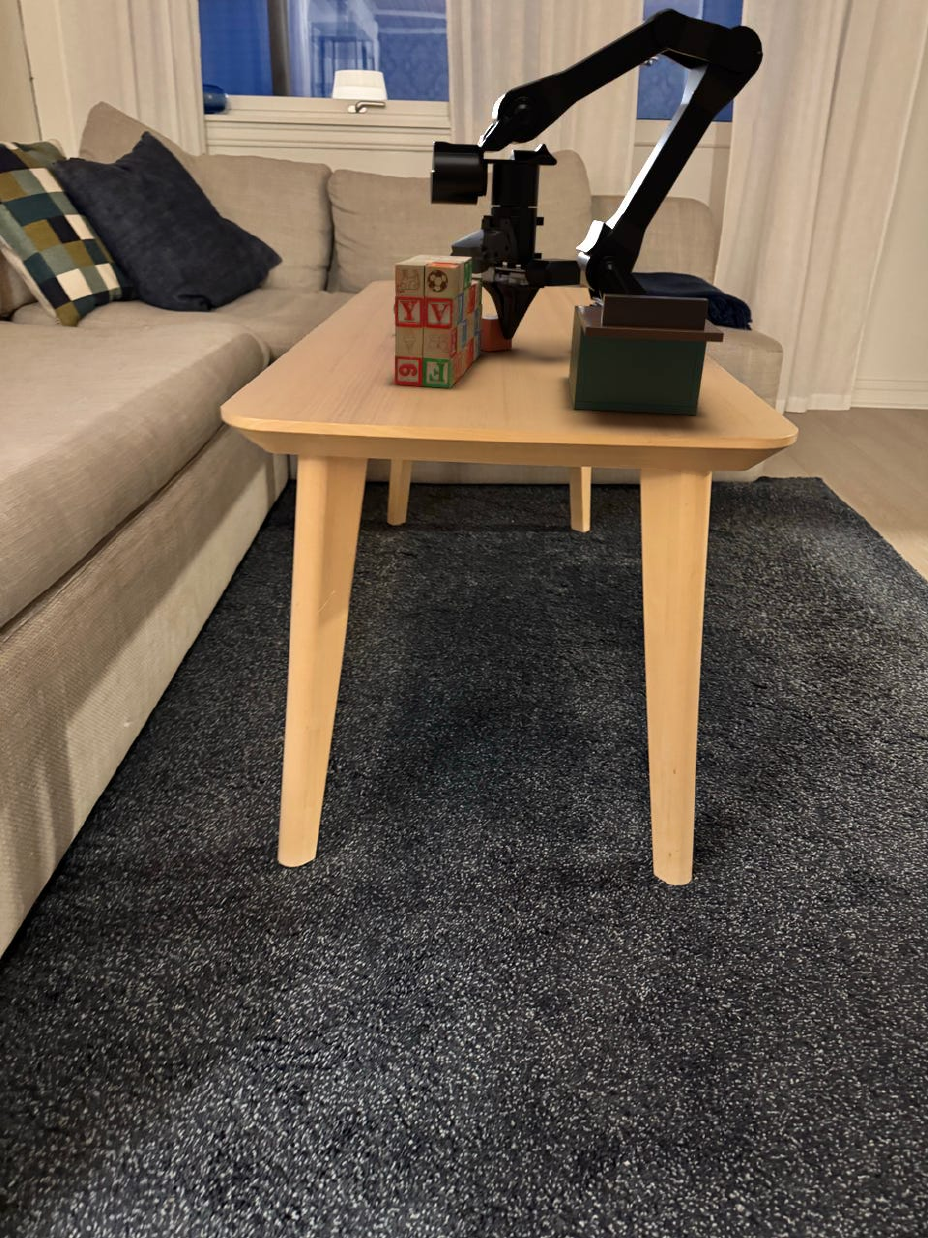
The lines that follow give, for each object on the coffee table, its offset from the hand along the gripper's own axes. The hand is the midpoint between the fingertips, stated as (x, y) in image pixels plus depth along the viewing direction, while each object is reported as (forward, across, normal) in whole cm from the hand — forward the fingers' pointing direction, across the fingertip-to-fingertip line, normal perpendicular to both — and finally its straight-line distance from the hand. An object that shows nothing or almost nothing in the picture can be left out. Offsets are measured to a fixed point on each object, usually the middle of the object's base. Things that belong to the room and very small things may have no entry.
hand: (508, 339), depth 117 cm
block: (+2, -3, 0) cm, 4 cm away
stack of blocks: (+2, +4, -15) cm, 15 cm away
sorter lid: (-6, +31, -13) cm, 34 cm away
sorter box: (+2, +26, -7) cm, 27 cm away
